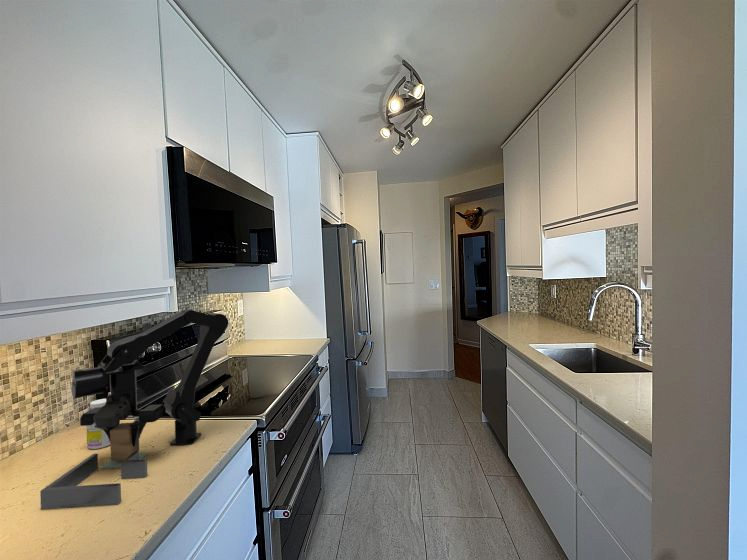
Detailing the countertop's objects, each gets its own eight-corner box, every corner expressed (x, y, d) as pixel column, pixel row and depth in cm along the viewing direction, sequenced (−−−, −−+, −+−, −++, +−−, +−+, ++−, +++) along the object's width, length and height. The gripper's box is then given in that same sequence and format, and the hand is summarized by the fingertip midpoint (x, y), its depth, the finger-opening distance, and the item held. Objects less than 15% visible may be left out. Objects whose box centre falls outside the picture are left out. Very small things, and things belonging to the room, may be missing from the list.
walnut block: (122, 452, 95) (121, 423, 95) (139, 451, 95) (138, 422, 95) (110, 460, 90) (109, 430, 90) (129, 459, 91) (128, 429, 90)
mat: (118, 454, 96) (118, 453, 96) (148, 453, 96) (148, 452, 96) (100, 468, 89) (100, 467, 89) (133, 466, 89) (133, 465, 89)
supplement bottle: (112, 437, 107) (111, 395, 107) (118, 443, 103) (117, 400, 102) (84, 445, 102) (83, 402, 101) (90, 452, 97) (88, 407, 97)
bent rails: (94, 469, 89) (93, 453, 89) (157, 465, 90) (156, 450, 90) (40, 509, 73) (40, 490, 73) (118, 504, 74) (117, 485, 74)
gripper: (61, 400, 84) (63, 465, 84) (142, 397, 85) (144, 460, 85) (94, 386, 95) (96, 442, 95) (166, 383, 96) (167, 439, 96)
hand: (125, 446), depth 93 cm, fingers closed on walnut block, 4 cm apart
